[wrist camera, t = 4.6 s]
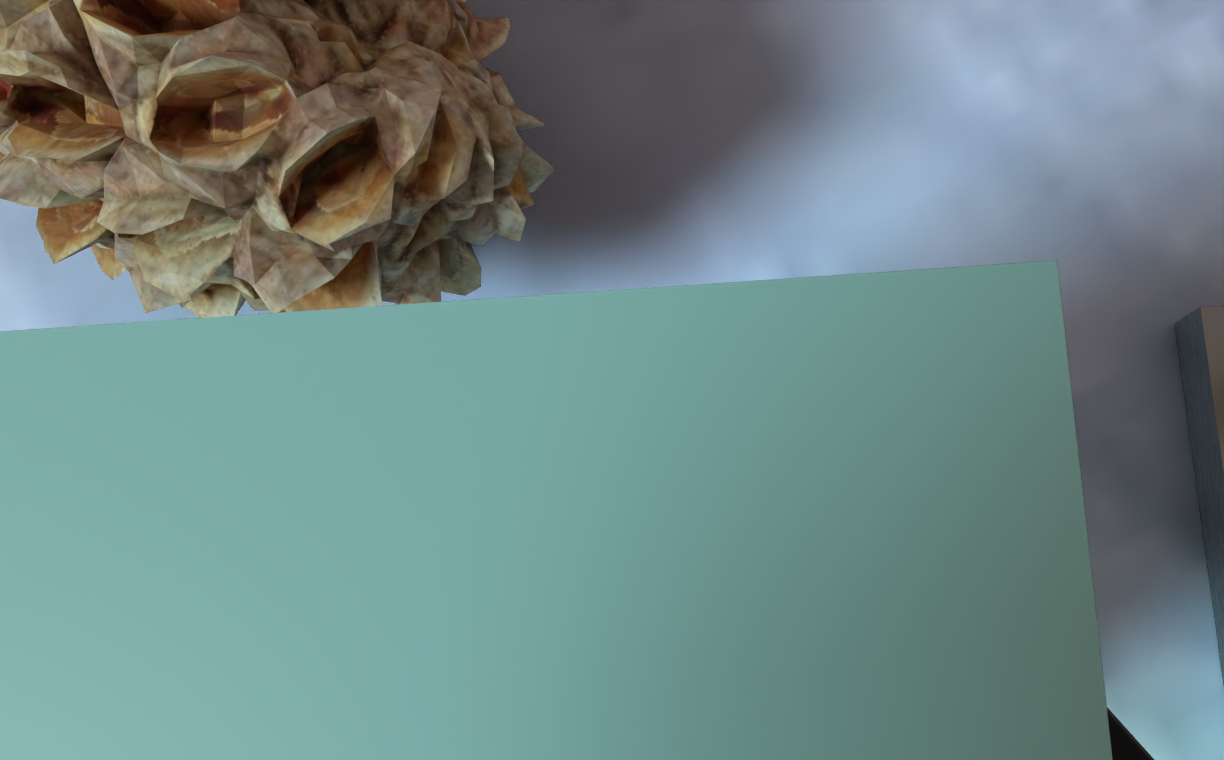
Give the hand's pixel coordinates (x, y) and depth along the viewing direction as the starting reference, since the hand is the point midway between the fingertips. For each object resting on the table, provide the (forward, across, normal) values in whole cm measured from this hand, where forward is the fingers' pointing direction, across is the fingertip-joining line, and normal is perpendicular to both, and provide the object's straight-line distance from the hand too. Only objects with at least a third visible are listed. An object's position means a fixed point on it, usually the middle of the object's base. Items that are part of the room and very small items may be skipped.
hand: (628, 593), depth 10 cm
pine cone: (+15, +12, -2) cm, 20 cm away
